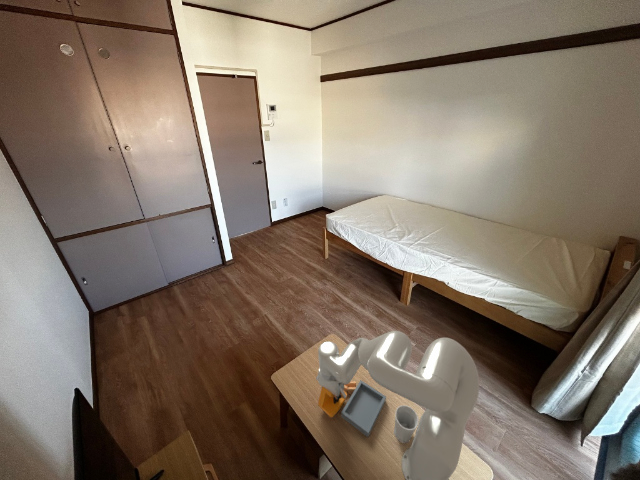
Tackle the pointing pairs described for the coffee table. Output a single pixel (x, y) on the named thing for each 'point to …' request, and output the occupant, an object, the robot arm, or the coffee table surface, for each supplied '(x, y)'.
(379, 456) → the coffee table surface
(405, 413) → the cup
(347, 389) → the clip
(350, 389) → the clip
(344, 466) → the coffee table surface
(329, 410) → the bracket
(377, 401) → the gray tray
